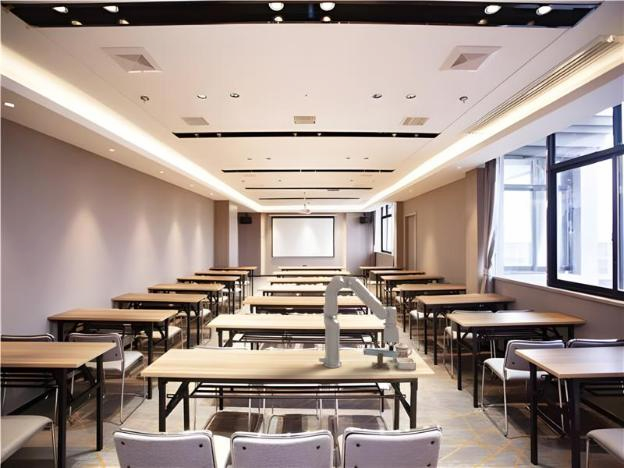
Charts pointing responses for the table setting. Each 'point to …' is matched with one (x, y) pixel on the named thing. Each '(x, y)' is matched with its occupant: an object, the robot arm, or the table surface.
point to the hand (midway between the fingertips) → (391, 351)
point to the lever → (380, 352)
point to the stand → (380, 363)
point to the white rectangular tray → (406, 363)
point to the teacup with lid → (402, 350)
